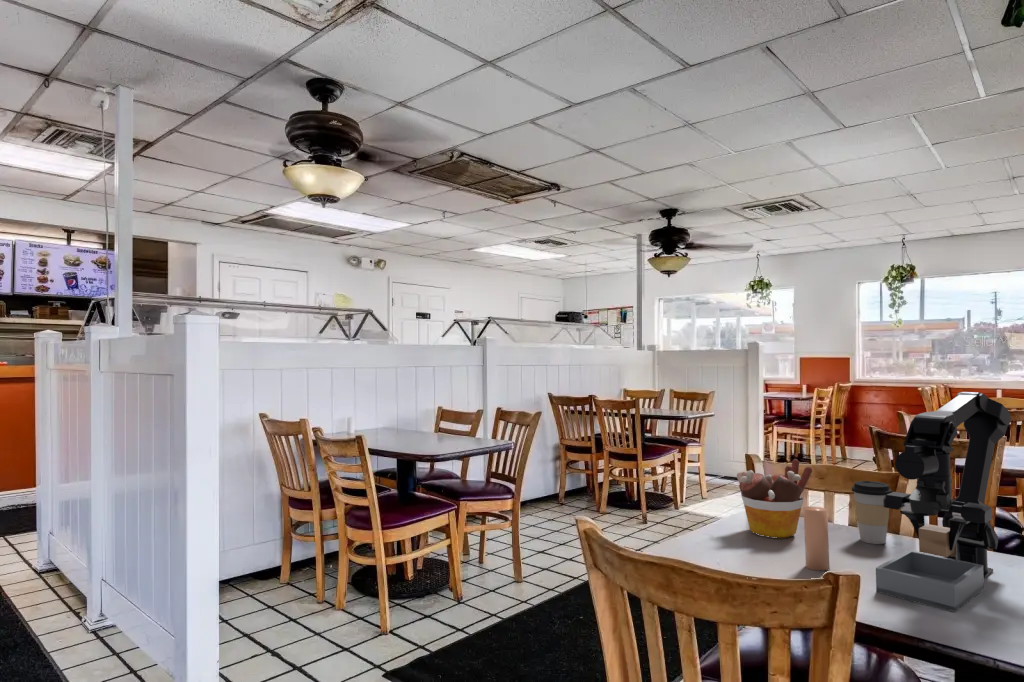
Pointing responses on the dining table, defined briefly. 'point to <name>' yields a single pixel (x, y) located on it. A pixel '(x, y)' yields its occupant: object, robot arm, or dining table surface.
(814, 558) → the cylinder
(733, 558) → the dining table surface
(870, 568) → the dining table surface
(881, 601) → the dining table surface
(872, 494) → the coffee cup
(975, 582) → the tote
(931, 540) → the cube
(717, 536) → the dining table surface
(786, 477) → the bucket of meat
